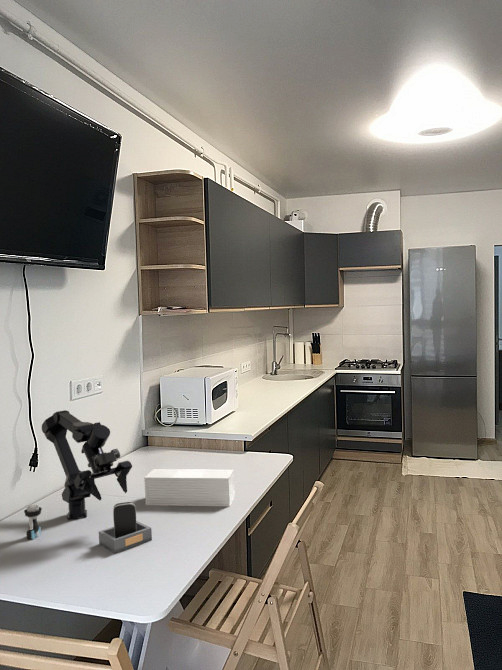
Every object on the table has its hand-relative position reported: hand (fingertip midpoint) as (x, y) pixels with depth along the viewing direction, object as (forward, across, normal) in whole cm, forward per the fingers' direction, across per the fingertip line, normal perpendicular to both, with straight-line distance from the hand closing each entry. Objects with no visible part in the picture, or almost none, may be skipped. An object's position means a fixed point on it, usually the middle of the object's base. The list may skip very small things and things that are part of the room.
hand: (113, 495), depth 183 cm
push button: (-5, -18, +24) cm, 30 cm away
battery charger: (+13, 0, +5) cm, 14 cm away
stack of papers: (+4, +37, +16) cm, 40 cm away
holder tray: (+14, 0, +5) cm, 15 cm away
